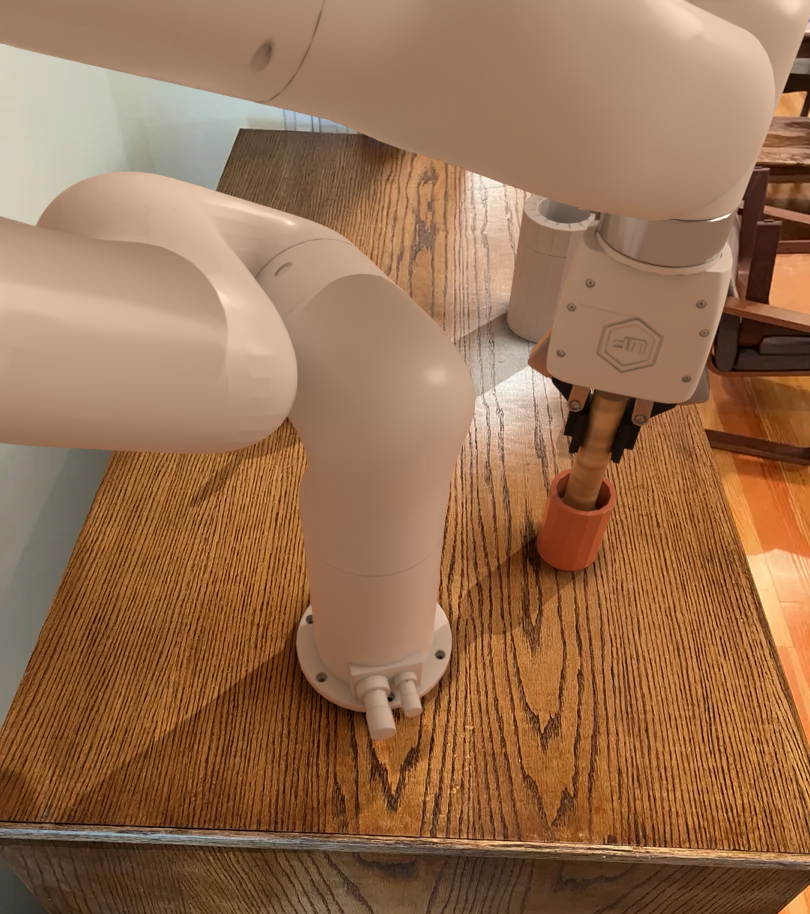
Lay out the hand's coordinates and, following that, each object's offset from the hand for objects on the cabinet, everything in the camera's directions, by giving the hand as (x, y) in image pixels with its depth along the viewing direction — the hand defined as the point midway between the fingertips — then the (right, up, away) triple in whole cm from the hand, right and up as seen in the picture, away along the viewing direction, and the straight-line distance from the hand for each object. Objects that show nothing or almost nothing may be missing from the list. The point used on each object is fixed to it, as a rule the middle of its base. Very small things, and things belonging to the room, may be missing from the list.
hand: (596, 445), depth 60 cm
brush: (0, -8, +10) cm, 13 cm away
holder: (0, -8, +10) cm, 13 cm away
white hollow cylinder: (+2, +19, +33) cm, 38 cm away
